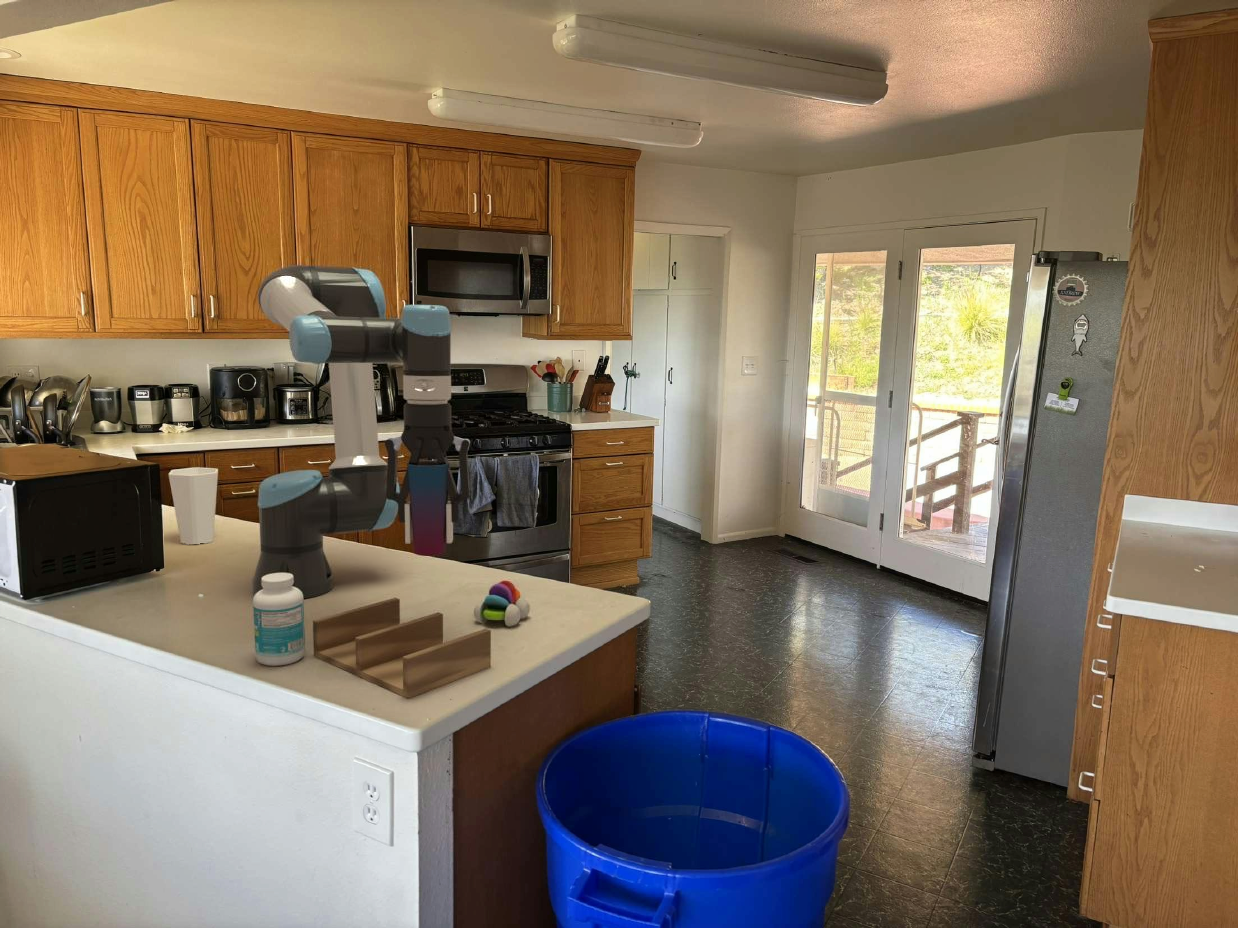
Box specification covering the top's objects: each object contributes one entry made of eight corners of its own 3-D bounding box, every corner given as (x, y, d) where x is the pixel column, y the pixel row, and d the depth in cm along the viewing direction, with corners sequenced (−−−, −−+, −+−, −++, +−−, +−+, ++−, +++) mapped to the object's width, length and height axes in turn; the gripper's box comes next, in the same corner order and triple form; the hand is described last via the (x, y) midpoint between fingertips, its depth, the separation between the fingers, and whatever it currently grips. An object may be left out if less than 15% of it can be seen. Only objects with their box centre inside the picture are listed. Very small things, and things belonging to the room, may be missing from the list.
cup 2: (456, 554, 143) (455, 464, 140) (416, 559, 139) (414, 466, 137) (442, 545, 148) (440, 459, 146) (403, 550, 145) (401, 461, 143)
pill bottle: (264, 649, 141) (261, 569, 139) (310, 649, 142) (308, 569, 140) (248, 667, 134) (245, 583, 132) (297, 667, 134) (295, 583, 132)
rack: (313, 656, 139) (312, 620, 138) (395, 630, 151) (395, 597, 150) (408, 698, 124) (408, 658, 123) (490, 666, 137) (490, 630, 136)
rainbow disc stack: (534, 615, 162) (534, 578, 160) (511, 632, 153) (511, 592, 151) (493, 609, 164) (493, 572, 163) (468, 625, 155) (468, 586, 154)
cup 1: (161, 544, 203) (157, 473, 201) (189, 534, 213) (186, 466, 210) (205, 548, 202) (201, 476, 199) (231, 537, 211) (228, 469, 209)
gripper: (362, 402, 135) (366, 547, 139) (485, 404, 137) (485, 546, 140) (372, 399, 143) (375, 536, 146) (488, 400, 145) (488, 536, 148)
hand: (429, 541), depth 143 cm, fingers closed on cup 2, 6 cm apart
